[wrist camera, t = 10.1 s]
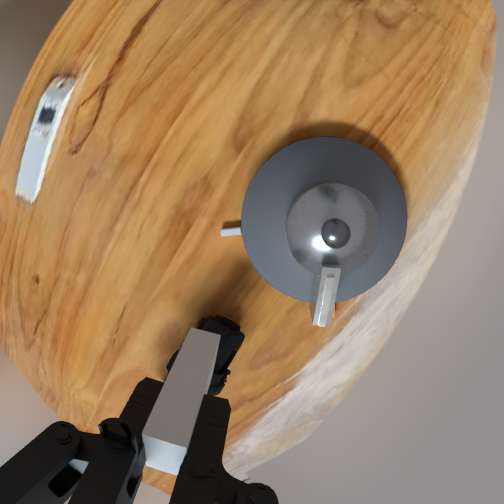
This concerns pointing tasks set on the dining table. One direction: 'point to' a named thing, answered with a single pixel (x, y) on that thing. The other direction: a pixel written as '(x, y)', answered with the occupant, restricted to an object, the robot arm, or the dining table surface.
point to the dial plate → (292, 184)
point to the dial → (330, 239)
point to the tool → (219, 349)
